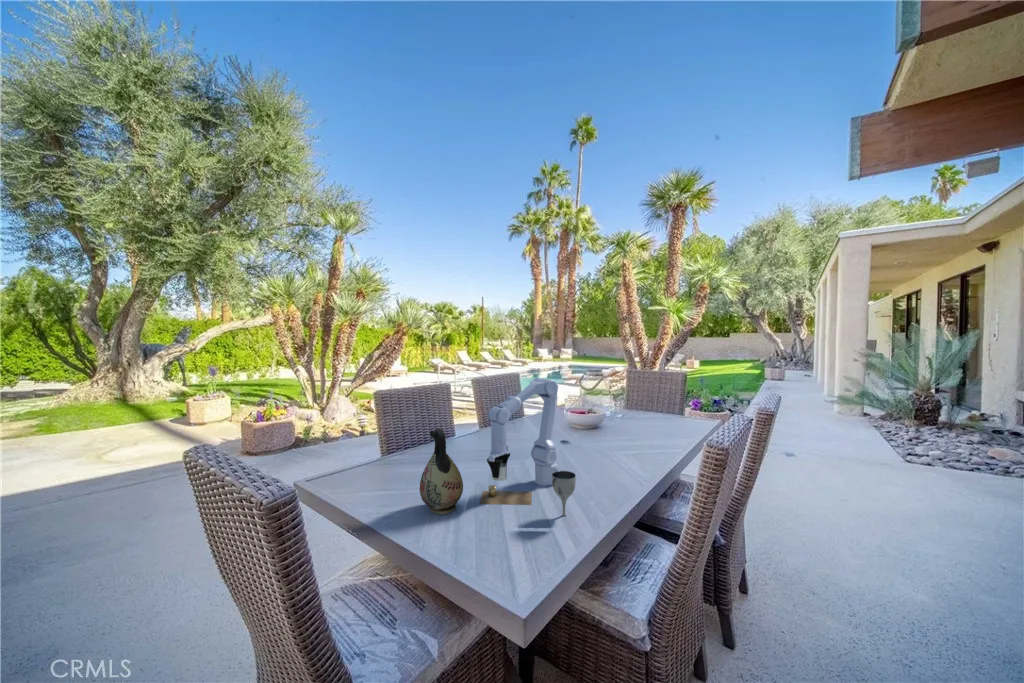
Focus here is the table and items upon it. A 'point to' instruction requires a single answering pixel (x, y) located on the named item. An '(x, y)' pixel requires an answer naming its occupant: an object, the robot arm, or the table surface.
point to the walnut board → (508, 498)
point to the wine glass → (563, 486)
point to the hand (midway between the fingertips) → (499, 474)
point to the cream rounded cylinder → (492, 491)
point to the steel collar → (502, 473)
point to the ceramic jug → (441, 478)
